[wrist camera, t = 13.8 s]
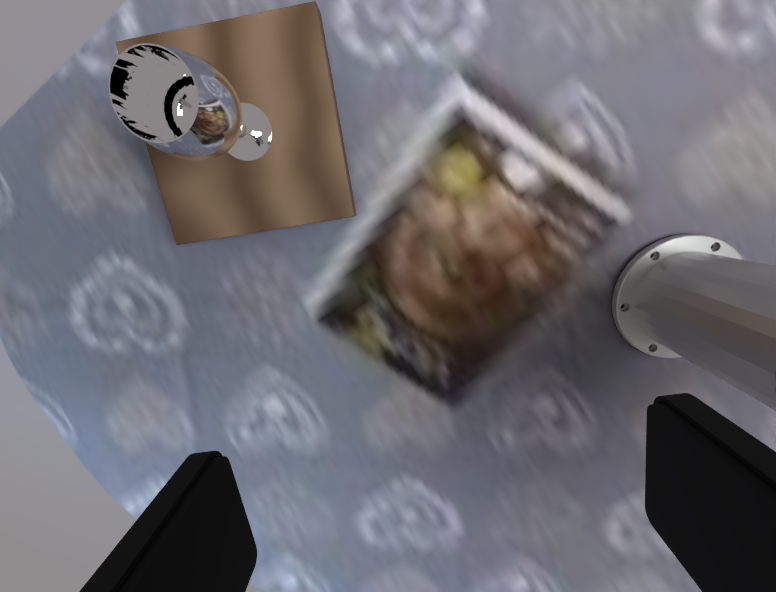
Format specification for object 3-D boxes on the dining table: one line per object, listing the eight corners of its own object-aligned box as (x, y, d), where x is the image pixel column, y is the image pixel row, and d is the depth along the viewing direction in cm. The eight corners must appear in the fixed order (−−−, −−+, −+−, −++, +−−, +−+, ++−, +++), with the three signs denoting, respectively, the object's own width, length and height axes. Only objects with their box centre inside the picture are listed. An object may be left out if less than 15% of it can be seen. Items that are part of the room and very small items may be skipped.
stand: (326, 26, 33) (315, 1, 28) (359, 213, 37) (353, 216, 32) (151, 61, 34) (115, 41, 29) (202, 239, 38) (176, 245, 33)
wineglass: (295, 134, 31) (232, 98, 19) (248, 184, 32) (162, 178, 20) (242, 76, 30) (143, 1, 18) (196, 130, 31) (74, 91, 19)
